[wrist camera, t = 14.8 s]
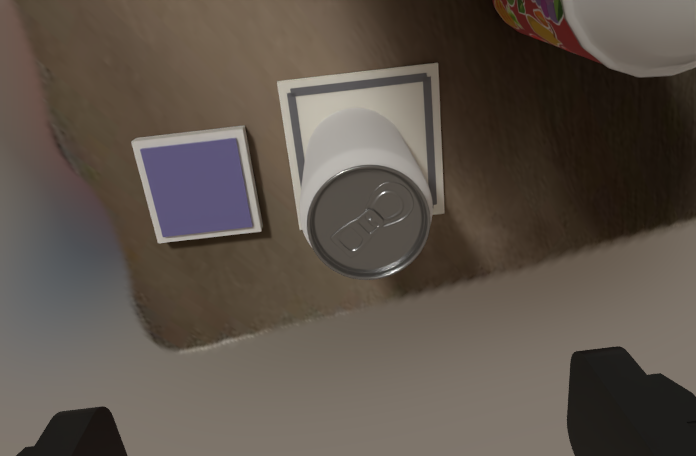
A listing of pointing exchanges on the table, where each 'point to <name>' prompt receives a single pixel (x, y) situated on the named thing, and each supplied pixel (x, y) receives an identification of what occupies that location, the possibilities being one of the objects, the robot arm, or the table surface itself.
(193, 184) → the ink pad
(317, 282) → the table surface
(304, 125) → the card
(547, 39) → the smoothie
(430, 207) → the can
